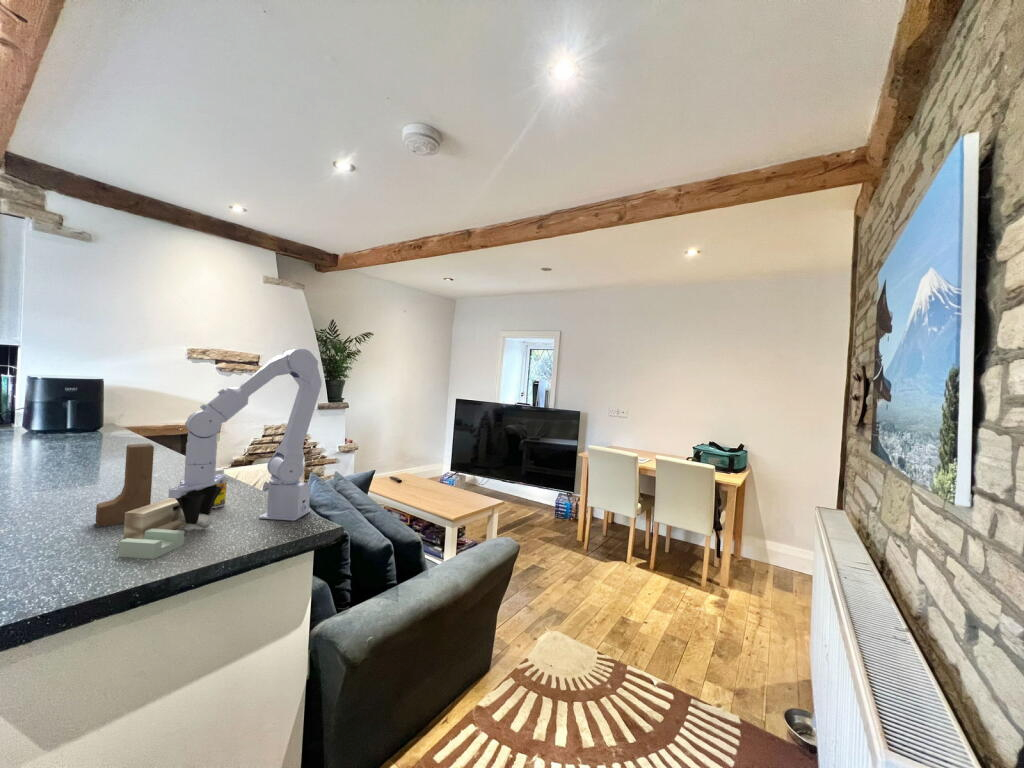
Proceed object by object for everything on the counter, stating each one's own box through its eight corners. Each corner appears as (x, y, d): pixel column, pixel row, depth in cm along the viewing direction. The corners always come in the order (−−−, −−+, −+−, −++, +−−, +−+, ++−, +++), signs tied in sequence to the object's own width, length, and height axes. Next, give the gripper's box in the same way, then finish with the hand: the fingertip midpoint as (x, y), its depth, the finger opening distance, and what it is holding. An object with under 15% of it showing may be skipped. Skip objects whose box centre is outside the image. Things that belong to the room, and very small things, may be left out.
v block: (183, 544, 86) (184, 530, 86) (153, 559, 79) (154, 543, 79) (150, 542, 86) (151, 528, 86) (118, 556, 79) (119, 541, 79)
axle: (211, 526, 96) (214, 514, 96) (202, 530, 93) (205, 518, 93) (171, 513, 96) (174, 502, 96) (160, 517, 93) (164, 506, 93)
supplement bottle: (201, 511, 107) (203, 472, 107) (198, 505, 111) (200, 468, 111) (227, 507, 110) (229, 470, 110) (223, 502, 114) (225, 466, 114)
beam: (207, 515, 103) (209, 491, 103) (141, 543, 85) (143, 513, 85) (192, 514, 103) (193, 490, 103) (123, 541, 85) (125, 512, 86)
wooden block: (96, 528, 92) (101, 448, 92) (95, 522, 95) (100, 445, 95) (149, 519, 99) (154, 445, 99) (146, 514, 102) (151, 443, 102)
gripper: (208, 456, 102) (204, 510, 102) (156, 467, 87) (152, 530, 87) (235, 457, 102) (232, 511, 102) (188, 469, 87) (184, 532, 87)
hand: (197, 520), depth 94 cm, fingers closed on axle, 3 cm apart
